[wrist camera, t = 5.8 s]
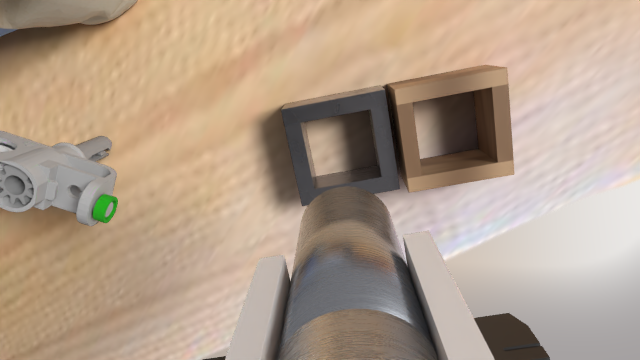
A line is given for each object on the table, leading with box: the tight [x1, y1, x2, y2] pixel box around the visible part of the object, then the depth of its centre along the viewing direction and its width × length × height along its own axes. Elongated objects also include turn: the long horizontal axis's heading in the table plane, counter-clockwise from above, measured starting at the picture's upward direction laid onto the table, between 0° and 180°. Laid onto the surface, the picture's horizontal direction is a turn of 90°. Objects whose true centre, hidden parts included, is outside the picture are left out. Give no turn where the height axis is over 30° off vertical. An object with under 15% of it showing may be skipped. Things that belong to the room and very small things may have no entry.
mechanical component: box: [0, 131, 118, 226], centre depth 29 cm, size 3×10×10 cm, turn 71°
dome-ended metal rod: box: [277, 186, 439, 360], centre depth 11 cm, size 4×4×13 cm
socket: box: [281, 85, 400, 206], centre depth 31 cm, size 7×7×3 cm
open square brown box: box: [387, 65, 514, 192], centre depth 30 cm, size 7×7×4 cm
